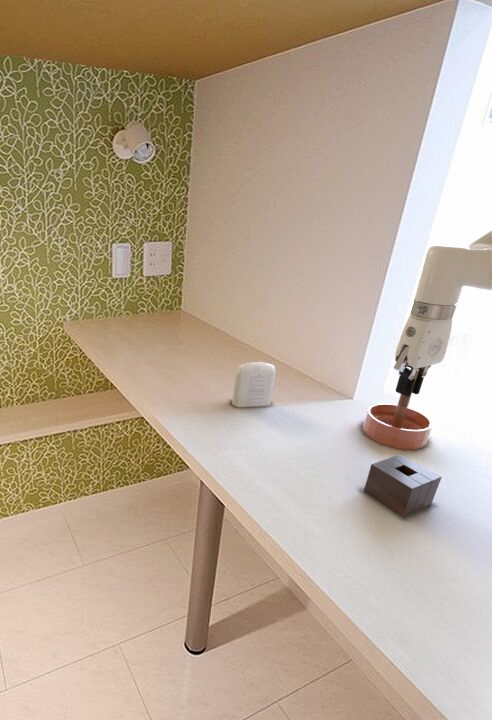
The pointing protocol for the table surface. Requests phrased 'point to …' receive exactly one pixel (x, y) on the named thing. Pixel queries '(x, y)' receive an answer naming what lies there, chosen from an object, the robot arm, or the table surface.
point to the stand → (402, 484)
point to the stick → (402, 407)
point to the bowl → (394, 436)
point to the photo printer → (253, 384)
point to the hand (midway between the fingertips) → (406, 392)
